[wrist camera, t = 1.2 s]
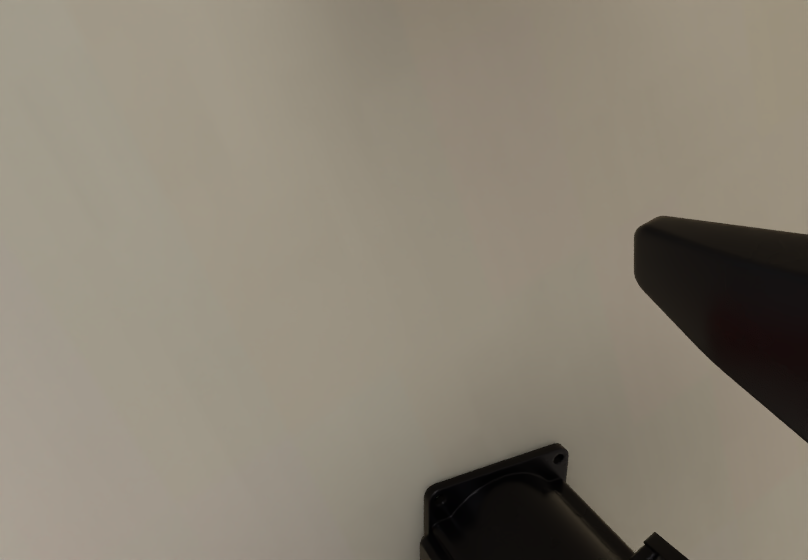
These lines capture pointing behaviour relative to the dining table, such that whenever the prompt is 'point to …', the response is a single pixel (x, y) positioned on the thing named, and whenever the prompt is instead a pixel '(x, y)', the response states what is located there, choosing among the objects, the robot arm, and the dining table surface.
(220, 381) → the dining table surface
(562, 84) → the dining table surface
